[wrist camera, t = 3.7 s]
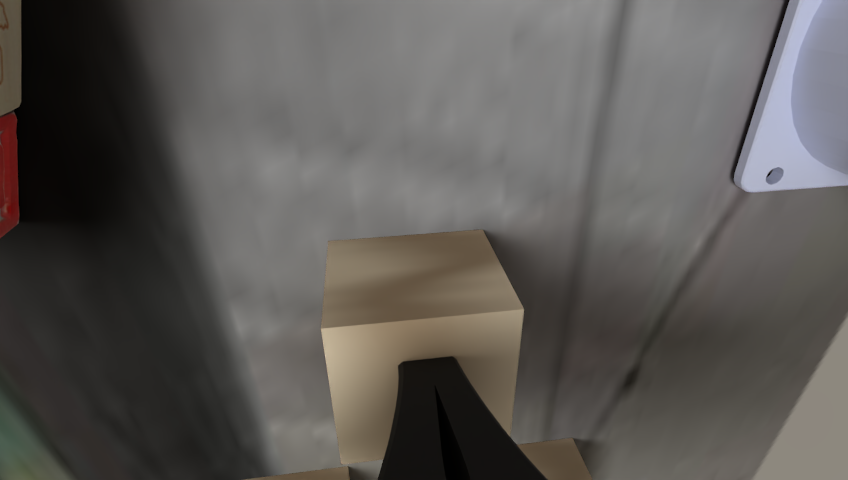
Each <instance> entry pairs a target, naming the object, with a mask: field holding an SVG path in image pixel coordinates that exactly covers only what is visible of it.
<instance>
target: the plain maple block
mask: <svg viewBox="0 0 848 480" xmlns="http://www.w3.org/2000/svg"><path fill="white" fill-rule="evenodd" d="M523 315H524V308H523V306H522V304H521V302H520V300H519V299H518V297H517V295H516V293H515V291H514V289H513V287H512V285H511V283H510V281H509V279H508V277H507V276H506V274H505V272H504V270H503V268H502V266H501V264H500V262H499V260H498V258H497V256H496V254H495V252H494V251H493V249H492V247H491V245H490V243H489V241H488V239H487V237H486V235H485V233H484V231H483V230H470V231H456V232H443V233H430V234H417V235H403V236H390V237H377V238H363V239H350V240H337V241H328V251H327V263H326V275H325V287H324V299H323V311H322V323H321V332H322V338H323V345H324V352H325V358H326V365H327V372H328V379H329V385H330V392H331V399H332V405H333V412H334V419H335V425H336V432H337V439H338V445H339V452H340V459H341V465H342V464H350V463H358V462H366V461H374V460H382V459H384V456H385V452H386V448H387V445H388V441H389V437H390V432H391V427H392V423H393V418H394V413H395V407H396V400H397V393H398V379H399V376H398V365H399V364H400V363H401V362H403V361H413V360H422V359H431V358H440V357H449V356H453V357H454V358H456V359H457V361H458V363H459V364H460V366H461V368H462V370H463V371H464V373H465V375H466V376H467V378H468V380H469V381H470V383H471V384H472V386H473V387H474V389H475V390H476V392H477V393H478V395H479V396H480V398H481V399H482V401H483V402H484V403H485V405H486V406H487V408H488V409H489V410H490V412H491V413H492V414H493V416H494V417H495V418H496V420H497V421H498V422H499V424H500V425H501V426H502V428H503V429H504V430H505V431H506V433H507V434H508V435H509V436H510V434H511V425H512V416H513V407H514V398H515V388H516V379H517V370H518V361H519V352H520V343H521V333H522V324H523Z"/></svg>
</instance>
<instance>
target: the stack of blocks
mask: <svg viewBox="0 0 848 480" xmlns="http://www.w3.org/2000/svg"><path fill="white" fill-rule="evenodd" d="M20 104H21V0H0V238H1V237H2V236H3V235H5V234H6V233H7V232H8V231H10V230H11V229H12V228H13V227H15V226H16V225H17V224H18V223H19V200H18V161H17V135H16V128H17V118H16V115H15V113H14V109H16V108H18V107H19V106H20Z"/></svg>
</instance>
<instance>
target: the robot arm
mask: <svg viewBox="0 0 848 480" xmlns="http://www.w3.org/2000/svg"><path fill="white" fill-rule="evenodd" d="M772 169H773V171H772V173H771V174H770V175H769V176H768V177H767V178H766V176H767V174H768V173H769V172H770V171H771V170H772ZM734 182H735V185H737V186H738V187H739V188H741V189H743V190H744V191H746V192H765V191H779V190H793V189H807V188H820V187H834V186H848V0H790V1H789V4H788V7H787V10H786V13H785V16H784V20H783V23H782V26H781V29H780V32H779V35H778V38H777V42H776V45H775V48H774V51H773V54H772V57H771V60H770V64H769V67H768V70H767V73H766V76H765V79H764V83H763V86H762V89H761V92H760V95H759V98H758V101H757V105H756V108H755V111H754V114H753V117H752V120H751V123H750V127H749V130H748V133H747V136H746V139H745V142H744V145H743V149H742V152H741V155H740V158H739V161H738V164H737V167H736V171H735V174H734ZM398 376H399V379H398V393H397V400H396V407H395V413H394V418H393V423H392V427H391V432H390V437H389V441H388V445H387V448H386V452H385V456H384V459H383V463H382V467H381V470H380V474H379V477H378V480H548V479H547V478H546V477H545V476H544V475H543V474H542V473H541V472H540V471H539V470H538V469H537V468H536V467H535V465H534V464H533V463H532V462H531V461H530V460H529V459H528V458H527V456H526V455H525V454H524V453H523V452H522V451H521V449H520V448H519V447H518V446H517V445H516V443H515V442H514V441H513V440H512V439H511V437H510V436H509V435H508V434H507V433H506V431H505V430H504V429H503V428H502V426H501V425H500V424H499V422H498V421H497V420H496V418H495V417H494V416H493V414H492V413H491V412H490V410H489V409H488V408H487V406H486V405H485V403H484V402H483V401H482V399H481V398H480V396H479V395H478V393H477V392H476V390H475V389H474V387H473V386H472V384H471V383H470V381H469V380H468V378H467V376H466V375H465V373H464V371H463V370H462V368H461V366H460V364H459V363H458V361H457V359H456V358H454V357H453V356H449V357H440V358H431V359H422V360H413V361H403V362H401V363H400V364H399V365H398Z"/></svg>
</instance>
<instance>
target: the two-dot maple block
mask: <svg viewBox="0 0 848 480" xmlns="http://www.w3.org/2000/svg"><path fill="white" fill-rule="evenodd" d="M245 480H350V476H349V469H348V466H346V467H338V468H331V469H323V470H315V471H307V472H299V473H292V474H284V475H276V476H268V477H261V478H253V479H245Z"/></svg>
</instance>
